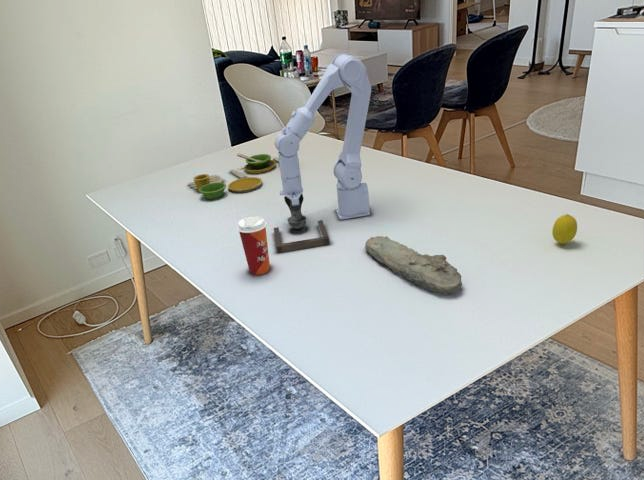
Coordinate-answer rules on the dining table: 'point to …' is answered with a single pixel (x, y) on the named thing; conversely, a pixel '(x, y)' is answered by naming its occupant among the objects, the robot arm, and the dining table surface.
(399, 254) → the elongated rock
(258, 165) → the tableware set
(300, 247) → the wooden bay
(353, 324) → the dining table surface
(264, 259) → the paper cup
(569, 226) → the lemon
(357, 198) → the robot arm
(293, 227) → the salt shaker
